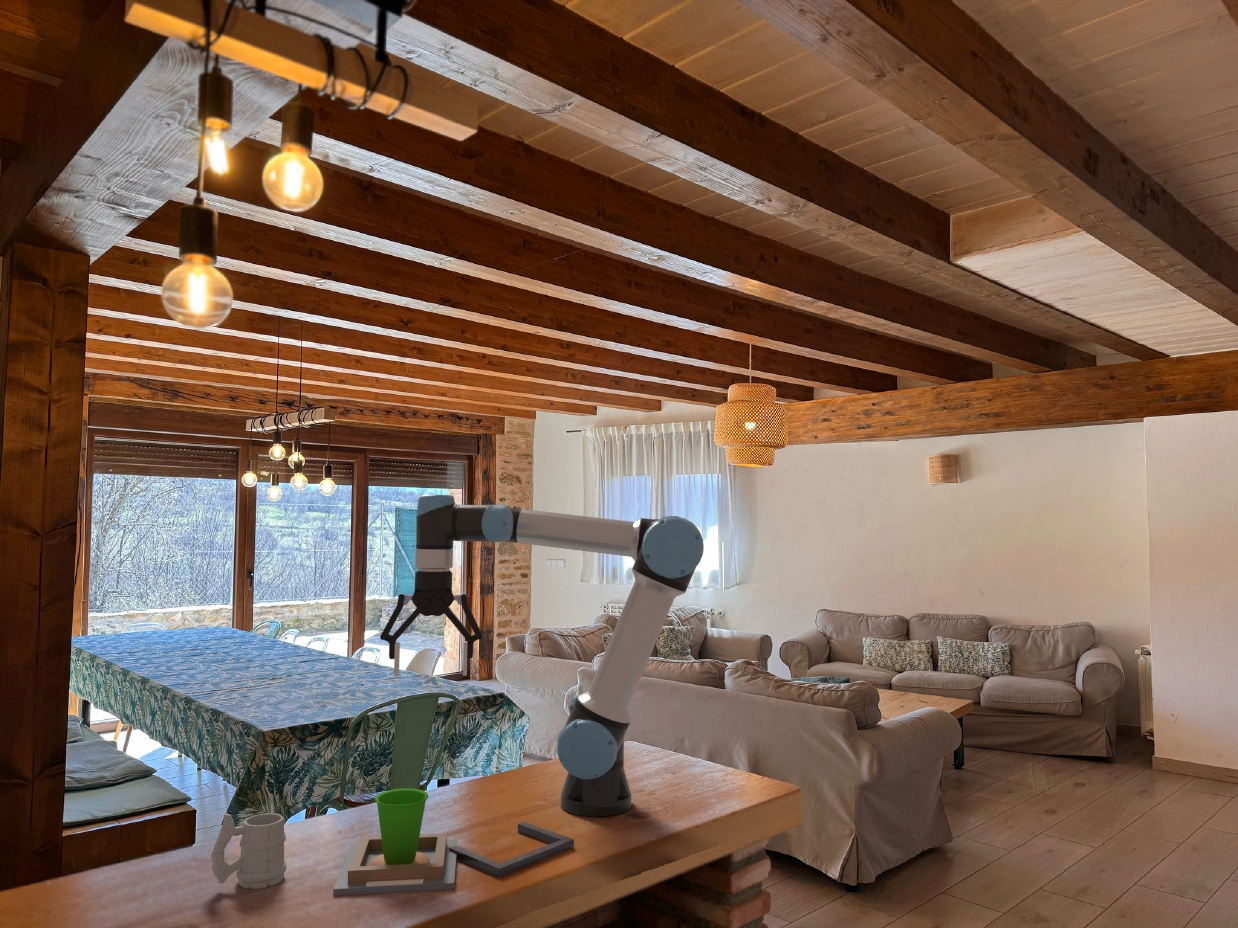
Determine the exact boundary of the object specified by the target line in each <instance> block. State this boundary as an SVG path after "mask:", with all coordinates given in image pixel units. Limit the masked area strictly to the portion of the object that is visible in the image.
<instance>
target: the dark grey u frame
mask: <svg viewBox="0 0 1238 928" xmlns="http://www.w3.org/2000/svg"><path fill="white" fill-rule="evenodd" d="M517 832H518V833H519V834H522V835H525V836H529V837H530V838H534V839H536V840H537V841H542V842H544V843H547V845H544V846H542V847H539V848H536V849H534V850H531V851H529V852H526V853H523V854H521V855H518V856H515V857H512V858H510V859H507V860H505V861H502V862H499V861H495V860H493V859H491V858H488V857H486V856H484V855H481V854H479V853H477V852H474V851H473V850H472V851H471V850H469V849H467V848H464V847H461V846H459V845H458V844H457V845H455V846H452V847H449V851H451V852H454V853H456V861H459V862H462V863H464V864H466V865H467V866H471V867H473V868H475V869H478V870H480V871H482V872H484V873H487V874H489V875H491V876H494V877H497V878H502V877H504V876H507V875H509V874H512V873H513V872H517V871H519V870H522V869H525V868H527V867H529V866H532V865H535V864H537V863H539V862H543V861H545V860H547V859H549V858H552V857H554V856H557V855H560V854H562V853H564V852H567V851H569V850H572V849H574V848H575V839H574V838H571V837H568V836H564V835H562V834H560V833H557V832H554V831H551V830H548V829H545V828H542V827H540V826H536V825H534V824H532V823H529V822H525V821H523V822H520V823H517Z"/></svg>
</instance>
